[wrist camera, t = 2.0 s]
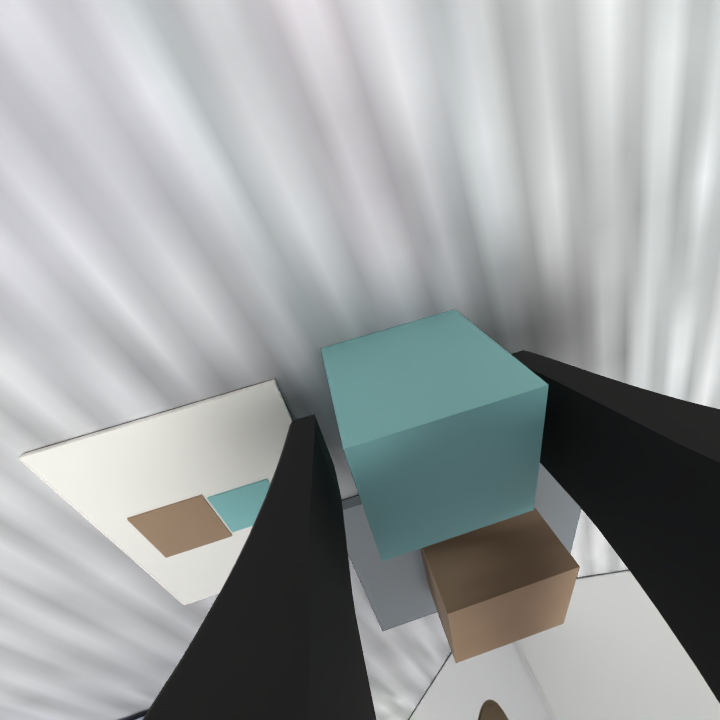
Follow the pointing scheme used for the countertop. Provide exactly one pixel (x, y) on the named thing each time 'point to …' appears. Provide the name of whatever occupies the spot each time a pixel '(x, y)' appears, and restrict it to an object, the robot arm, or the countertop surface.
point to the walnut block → (500, 583)
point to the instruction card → (176, 484)
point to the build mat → (407, 572)
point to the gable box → (580, 667)
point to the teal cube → (436, 429)
